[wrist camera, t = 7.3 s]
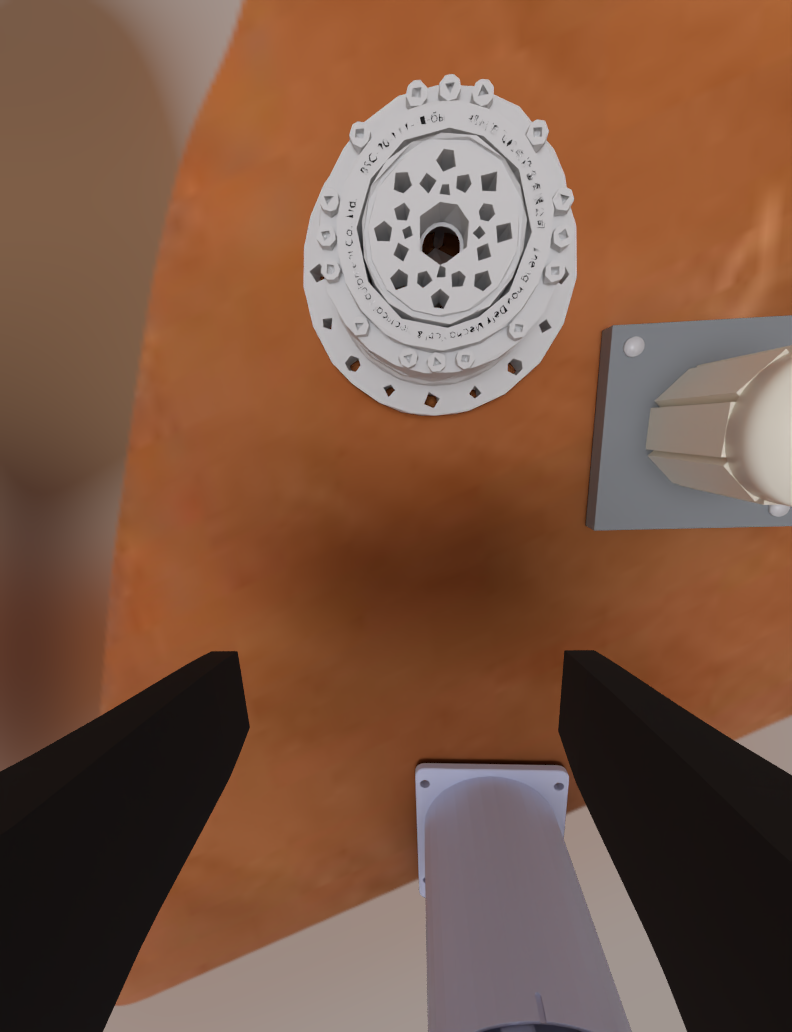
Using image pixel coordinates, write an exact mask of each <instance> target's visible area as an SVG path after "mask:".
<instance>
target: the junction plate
mask: <svg viewBox="0 0 792 1032" xmlns="http://www.w3.org/2000/svg"><path fill="white" fill-rule="evenodd" d="M790 345H792V316H774V317H756V318H739V319H721V320H703V321H685V322H667V323H650V324H632V325H614V326H611V327H609V328H607V329H605V330H603V331H602V341H601V353H600V365H599V377H598V388H597V400H596V412H595V423H594V435H593V447H592V459H591V470H590V482H589V494H588V505H587V517H586V526H587V527H589V528H591V529H593V530H636V529H680V528H725V527H769V526H792V507H791V506H786V505H762V504H758V503H753V502H749V501H745V500H740V499H736V498H732V497H727V496H723V495H719V494H714V493H710V492H705V491H701V490H697V489H692V488H688V487H684V486H679V484H675V483H672V482H671V481H670V480H669V479H668V477H667V476H666V475H665V474H664V473H663V472H662V471H661V470H660V469H659V468H658V467H657V466H656V465H655V463H654V462H653V461H652V460H651V459H650V458H649V457H648V455H649V454H650V453H651V452H652V451H653V450H647V449H646V441H647V433H648V425H649V417H650V409H651V408H657V407H659V405H658V404H657V403H656V402H655V400H656V399H657V398H658V397H659V396H660V395H661V394H662V393H664V392H665V391H666V390H667V389H668V388H669V387H670V386H671V385H672V384H673V383H674V382H675V381H677V380H678V379H679V378H680V377H681V376H682V375H683V374H684V373H685V372H686V371H687V370H688V369H690V368H695V367H697V365H701V364H706V363H711V362H715V361H720V360H725V359H729V358H734V357H739V356H743V355H748V354H753V353H758V352H762V351H767V350H772V349H776V348H781V347H786V346H790Z"/></svg>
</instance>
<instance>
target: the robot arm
mask: <svg viewBox="0 0 792 1032" xmlns="http://www.w3.org/2000/svg"><path fill="white" fill-rule="evenodd" d="M249 728H250V726H249V720H248V714H247V708H246V701H245V695H244V689H243V683H242V676H241V670H240V664H239V658H238V652H237V651H212V652H210V653H208V654H205V655H203V656H201V657H200V658H198V659H196V660H194V661H192V662H191V663H189V664H187V665H185V666H184V667H182V668H180V669H178V670H177V671H175V672H173V673H172V674H170V675H168V676H167V677H165V678H163V679H162V680H160V681H158V682H157V683H155V684H153V685H152V686H150V687H148V688H147V689H145V690H143V691H142V692H140V693H138V694H137V695H135V696H133V697H132V698H130V699H128V700H127V701H125V702H123V703H122V704H120V705H118V706H117V707H115V708H113V709H112V710H110V711H108V712H107V713H105V714H103V715H101V716H100V717H98V718H96V719H94V720H93V721H91V722H89V723H87V724H86V725H84V726H82V727H80V728H79V729H77V730H75V731H73V732H71V733H70V734H68V735H66V736H64V737H63V738H61V739H59V740H57V741H56V742H54V743H52V744H50V745H49V746H47V747H45V748H43V749H41V750H40V751H38V752H37V753H34V754H33V755H31V756H29V757H27V758H25V759H23V760H22V761H20V762H18V763H16V764H14V765H12V766H10V767H8V768H6V769H5V770H3V771H1V772H0V1032H103V1030H104V1028H105V1026H106V1023H107V1021H108V1019H109V1017H110V1015H111V1012H112V1010H113V1008H114V1006H115V1004H116V1001H117V999H118V997H119V995H120V992H121V990H122V988H123V986H124V983H125V981H126V979H127V977H128V975H129V972H130V970H131V968H132V966H133V963H134V961H135V959H136V957H137V955H138V952H139V950H140V948H141V946H142V944H143V942H144V940H145V938H146V936H147V934H148V932H149V930H150V928H151V926H152V924H153V922H154V920H155V918H156V916H157V914H158V912H159V910H160V908H161V906H162V904H163V903H164V901H165V899H166V897H167V895H168V893H169V891H170V890H171V888H172V886H173V884H174V882H175V880H176V878H177V876H178V875H179V873H180V871H181V869H182V867H183V865H184V863H185V861H186V860H187V858H188V856H189V854H190V852H191V850H192V848H193V846H194V845H195V843H196V841H197V839H198V837H199V835H200V833H201V832H202V830H203V828H204V826H205V824H206V822H207V820H208V818H209V816H210V815H211V813H212V811H213V809H214V807H215V805H216V803H217V801H218V799H219V797H220V796H221V794H222V792H223V790H224V788H225V786H226V784H227V782H228V780H229V778H230V776H231V774H232V771H233V769H234V766H235V764H236V761H237V759H238V757H239V754H240V752H241V749H242V746H243V744H244V741H245V738H246V736H247V733H248V731H249ZM558 731H559V734H560V737H561V740H562V743H563V746H564V749H565V752H566V755H567V758H568V761H569V764H570V767H571V770H572V772H573V775H574V778H575V781H576V783H577V786H578V788H579V790H580V792H581V794H582V797H583V799H584V801H585V803H586V805H587V807H588V810H589V812H590V814H591V816H592V818H593V820H594V823H595V825H596V827H597V829H598V831H599V833H600V835H601V837H602V840H603V842H604V844H605V846H606V848H607V850H608V852H609V854H610V856H611V859H612V861H613V863H614V865H615V867H616V869H617V871H618V874H619V875H620V877H621V880H622V882H623V884H624V886H625V888H626V890H627V893H628V895H629V897H630V899H631V901H632V903H633V905H634V907H635V910H636V911H637V914H638V916H639V918H640V920H641V922H642V924H643V927H644V929H645V931H646V933H647V935H648V937H649V940H650V942H651V944H652V947H653V949H654V951H655V953H656V956H657V958H658V960H659V962H660V965H661V967H662V969H663V972H664V974H665V976H666V979H667V981H668V984H669V986H670V989H671V991H672V994H673V996H674V999H675V1001H676V1004H677V1007H678V1009H679V1012H680V1014H681V1017H682V1019H683V1022H684V1024H685V1027H686V1030H687V1032H792V775H790V774H789V773H787V772H785V771H784V770H782V769H780V768H778V767H777V766H775V765H774V764H772V763H770V762H769V761H767V760H765V759H764V758H762V757H760V756H759V755H757V754H755V753H754V752H752V751H750V750H749V749H747V748H745V747H744V746H742V745H740V744H739V743H737V742H736V741H734V740H732V739H731V738H729V737H728V736H726V735H724V734H723V733H721V732H720V731H718V730H716V729H715V728H713V727H712V726H710V725H708V724H707V723H705V722H704V721H702V720H701V719H699V718H697V717H696V716H694V715H693V714H691V713H690V712H688V711H687V710H685V709H684V708H682V707H681V706H679V705H677V704H676V703H674V702H673V701H671V700H670V699H668V698H667V697H665V696H664V695H662V694H661V693H659V692H658V691H656V690H655V689H653V688H652V687H650V686H649V685H647V684H646V683H644V682H643V681H641V680H640V679H638V678H637V677H635V676H634V675H632V674H631V673H629V672H628V671H626V670H625V669H623V668H622V667H620V666H619V665H617V664H615V663H614V662H612V661H611V660H609V659H608V658H606V657H604V656H603V655H601V654H599V653H598V652H596V651H594V650H574V651H564V663H563V676H562V689H561V702H560V715H559V728H558ZM422 780H427V781H422ZM415 782H416V811H417V840H418V869H419V892H420V894H421V895H422V896H423V897H424V898H426V951H427V1001H428V1002H427V1004H428V1032H632V1031H631V1028H630V1025H629V1022H628V1020H627V1017H626V1014H625V1011H624V1008H623V1005H622V1003H621V1000H620V997H619V994H618V991H617V989H616V986H615V983H614V980H613V977H612V974H611V972H610V969H609V966H608V963H607V960H606V958H605V955H604V952H603V949H602V946H601V943H600V941H599V938H598V935H597V932H596V929H595V926H594V924H593V921H592V918H591V915H590V912H589V909H588V907H587V904H586V901H585V898H584V895H583V893H582V890H581V887H580V884H579V882H578V878H577V876H576V873H575V870H574V867H573V864H572V861H571V859H570V856H569V853H568V850H567V847H566V845H565V842H564V830H565V818H566V807H567V796H568V785H569V775H568V773H567V771H566V769H565V768H564V767H562V766H559V765H515V764H454V763H421V764H419V765H418V766H417V767H416V770H415ZM556 783H557V784H556Z"/></svg>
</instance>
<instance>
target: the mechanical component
mask: <svg viewBox="0 0 792 1032" xmlns="http://www.w3.org/2000/svg"><path fill="white" fill-rule="evenodd" d="M493 93H494V86H493V85H492V84H491V82H490V81H489V80H486V79H481V80H479V81H478V82H476V84H475V86H461V85H460V80H459V78H457V77H456V76H455V75H454V74H450V75H445V77H444V78H443V79H442V81H441V82H440V84H439V85H437V86H433V87H429V88H427V87H426V86H425V85H424V84H423V83H422V82H421V81H420V80H414V81H413V82H412V83H410V84H409V85H408V89H407V93H406V94H404V95H400V96H398V97H396V98H395V99H394V100H393V101H391V102H390V103H389V104H387V105H386V106H385V107H383V108H382V109H381V110H379V111H378V112H377V113H375V114H374V115H373V116H372V117H370V118H369V119H368V120H366V121H365V122H356V123H354V124H353V125H352V128H351V131H350V135H349V136H350V141H349V142H348V144H347V145H346V146H345V147H344V149H343V151H342V153H341V155H340V157H339V159H338V161H337V163H336V165H335V167H334V169H333V171H332V173H331V174H330V176H329V178H328V179H327V181H326V182H325V184H324V186H323V188H322V190H321V193H320V195H319V197H318V200H317V202H316V204H315V207H314V209H313V211H312V214H311V217H310V222H309V226H308V231H307V236H306V241H305V246H304V290H305V294H306V298H307V303H308V307H309V311H310V315H311V319H312V323H313V327H314V329H315V331H316V333H317V335H318V336H319V338H320V340H321V342H322V344H323V346H324V348H325V350H326V352H327V354H328V356H329V358H330V360H331V362H332V363H333V364H334V365H335V366H336V367H337V368H338V369H339V370H340V372H341V373H342V374H343V375H344V376H345V377H346V378H347V379H348V380H349V381H350V382H351V383H352V384H353V385H355V386H356V387H358V388H359V389H360V390H362V391H363V392H365V393H366V394H368V395H369V396H370V397H372V398H373V399H375V400H376V401H378V402H379V403H381V404H383V405H386V406H388V407H390V408H393V409H395V410H397V411H400V412H404V413H410V414H416V415H422V416H433V415H448V414H458V413H462V412H466V411H469V410H471V409H474V408H476V407H478V406H480V405H483V404H485V403H487V402H489V401H491V400H493V399H495V398H498V397H500V396H502V395H504V394H505V393H507V392H508V391H509V390H510V389H511V388H512V387H513V386H514V385H515V384H517V383H518V382H519V381H520V380H521V379H522V378H523V377H524V376H526V375H527V374H528V373H529V372H530V371H531V370H532V369H533V368H534V367H536V366H537V365H538V364H539V363H540V362H541V360H542V358H543V357H544V355H545V354H546V352H547V350H548V349H549V347H550V345H551V344H552V342H553V340H554V339H555V337H556V335H557V334H558V332H559V330H560V329H561V327H562V325H563V324H564V320H565V317H566V313H567V310H568V306H569V302H570V299H571V295H572V292H573V288H574V285H575V281H576V277H577V260H576V224H575V220H574V217H573V214H572V210H571V205H572V203H573V201H574V197H573V193H572V190H571V189H569V188H567V187H566V180H565V175H564V172H563V170H562V167H561V165H560V163H559V160H558V158H557V155H556V153H555V150H554V149H553V148H552V146H551V145H550V144H549V143H548V141H547V140H546V139H547V136H548V132H549V130H548V128H547V125H546V122H545V121H543V120H535V121H534V122H531V120H530V119H529V118H528V117H527V115H526V114H525V113H524V112H523V110H522V109H521V108H520V107H519V106H517V105H515V104H513V103H510V102H508V101H506V100H504V99H502V98H500V97H498V96H496V95H494V94H493ZM433 232H435V235H434V242H433V246H434V247H435V248H434V249H433V250H432V251H431V252H430V253H429V254H428V255H425V254H424V253H423V252H422V244H423V241H424V238H425V236H426V235H427V234H429V233H433ZM444 233H449V234H453V235H455V236H458V238H459V241H460V252H459V253H458V254H457V255H456V256H454V257H452V256H450V255H448V254H446V253H444V252H442V251H440V250H438V248H440V247H441V246H442V245H443V239H444ZM321 276H323V277H324V278H325V279H323V280H321V281H319V280H320V277H321ZM370 277H371V284H370ZM373 286H374V288H373ZM403 286H405V287H403ZM422 287H424V288H422ZM395 289H398V290H395ZM501 295H502V296H501ZM500 296H501V298H500ZM440 306H442V307H443V308H444V309H441V308H434V307H440ZM331 324H332V329H329V328H330V326H331ZM357 360H359V361H360V365H361V366H360V367H359V368H358V370H357V371H356V372H354V371H352V370H351V368H350V365H352V364H353V363H354V362H356V361H357ZM508 363H511V365H512V366H513V368H514V369H515V370H516V372H515V373H514V374H512V373H510V372H508ZM390 387H392V388H393V389H394V390H395V391H394V392H393V393H392V394H391V395H390V396H389V397H388V395H387V394H386V390H387V389H388V388H390ZM472 389H473V390H476V398H473V397H472V396H471V395H470V394H469V393H470V392H471V390H472ZM427 395H431V396H436V400H437V404H436V405H435V407H434V408H432V407H430V406H427V405H425V404H424V403H425V400H426V398H427Z"/></svg>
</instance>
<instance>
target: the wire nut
mask: <svg viewBox="0 0 792 1032" xmlns="http://www.w3.org/2000/svg"><path fill="white" fill-rule="evenodd" d="M655 402H656V403H657V404H658V405H659V407H657V408H651V409H650V417H649V425H648V433H647V441H646V449H647V450H653V451H652V452H651V453H650V454H649V455H648V457H649V458H650V459H651V460H652V461H653V462H654V463H655V465H656V466H657V467H658V468H659V469H660V470H661V471H662V472H663V473H664V474H665V475H666V476H667V477H668V479H669V480H670V481H671V482H672V483H675V484H679V486H684V487H688V488H692V489H697V490H701V491H705V492H710V493H714V494H719V495H723V496H727V497H732V498H736V499H740V500H745V501H749V502H753V503H758V504H762V505H786V506H791V507H792V345H790V346H786V347H781V348H776V349H772V350H767V351H762V352H758V353H753V354H748V355H743V356H739V357H734V358H729V359H725V360H720V361H715V362H711V363H706V364H701V365H697V367H695V368H690V369H688V370H687V371H686V372H685V373H684V374H683V375H682V376H681V377H680V378H679V379H678V380H677V381H675V382H674V383H673V384H672V385H671V386H670V387H669V388H668V389H667V390H666V391H665V392H664V393H662V394H661V395H660V396H659V397H658V398H657V399H656V400H655Z"/></svg>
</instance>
